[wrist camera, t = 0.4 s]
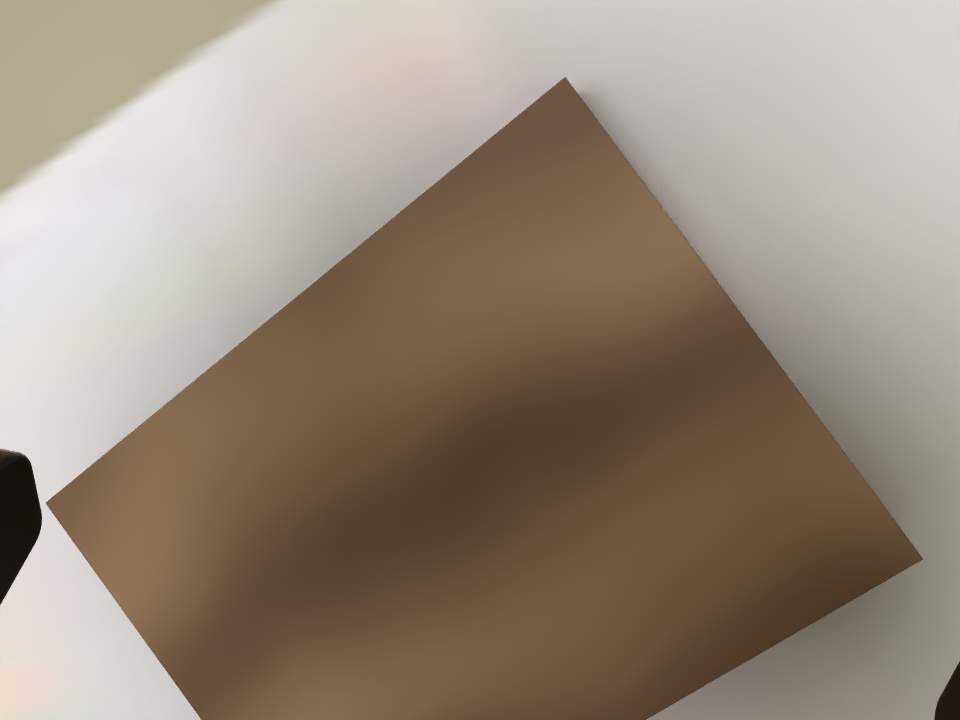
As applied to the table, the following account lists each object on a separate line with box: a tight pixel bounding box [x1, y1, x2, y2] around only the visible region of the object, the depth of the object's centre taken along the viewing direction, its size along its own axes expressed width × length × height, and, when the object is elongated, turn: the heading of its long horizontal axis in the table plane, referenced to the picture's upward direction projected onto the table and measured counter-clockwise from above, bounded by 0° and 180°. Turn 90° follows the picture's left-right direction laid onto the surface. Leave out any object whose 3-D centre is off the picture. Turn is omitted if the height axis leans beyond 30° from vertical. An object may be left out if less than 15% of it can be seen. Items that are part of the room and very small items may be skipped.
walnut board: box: [46, 78, 923, 720], centre depth 21 cm, size 12×16×2 cm
